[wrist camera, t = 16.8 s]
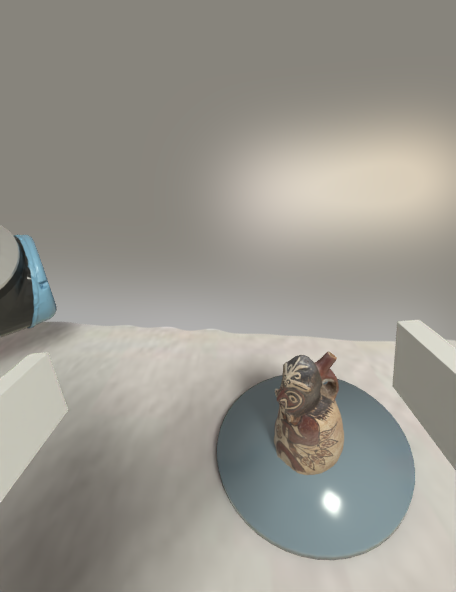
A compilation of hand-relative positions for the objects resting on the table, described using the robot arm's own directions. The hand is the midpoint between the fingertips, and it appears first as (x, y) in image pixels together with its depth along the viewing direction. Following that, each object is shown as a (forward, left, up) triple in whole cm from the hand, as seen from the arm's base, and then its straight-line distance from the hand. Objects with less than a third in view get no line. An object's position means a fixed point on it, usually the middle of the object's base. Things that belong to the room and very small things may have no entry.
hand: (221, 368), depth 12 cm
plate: (-5, +13, -25) cm, 28 cm away
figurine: (-5, +13, -24) cm, 27 cm away
